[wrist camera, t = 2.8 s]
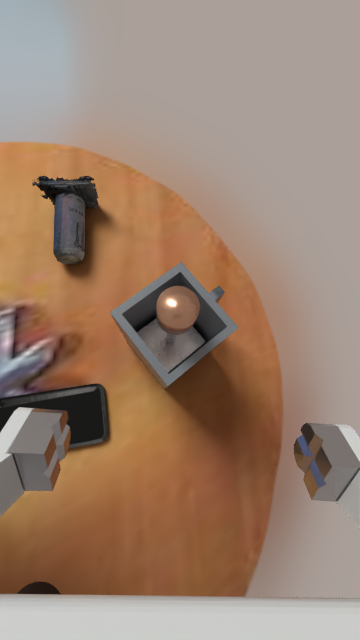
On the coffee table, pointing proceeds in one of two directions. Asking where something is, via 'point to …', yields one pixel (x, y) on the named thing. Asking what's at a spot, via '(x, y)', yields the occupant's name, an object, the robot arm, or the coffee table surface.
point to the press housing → (144, 311)
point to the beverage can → (69, 214)
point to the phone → (68, 410)
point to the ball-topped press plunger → (173, 327)
